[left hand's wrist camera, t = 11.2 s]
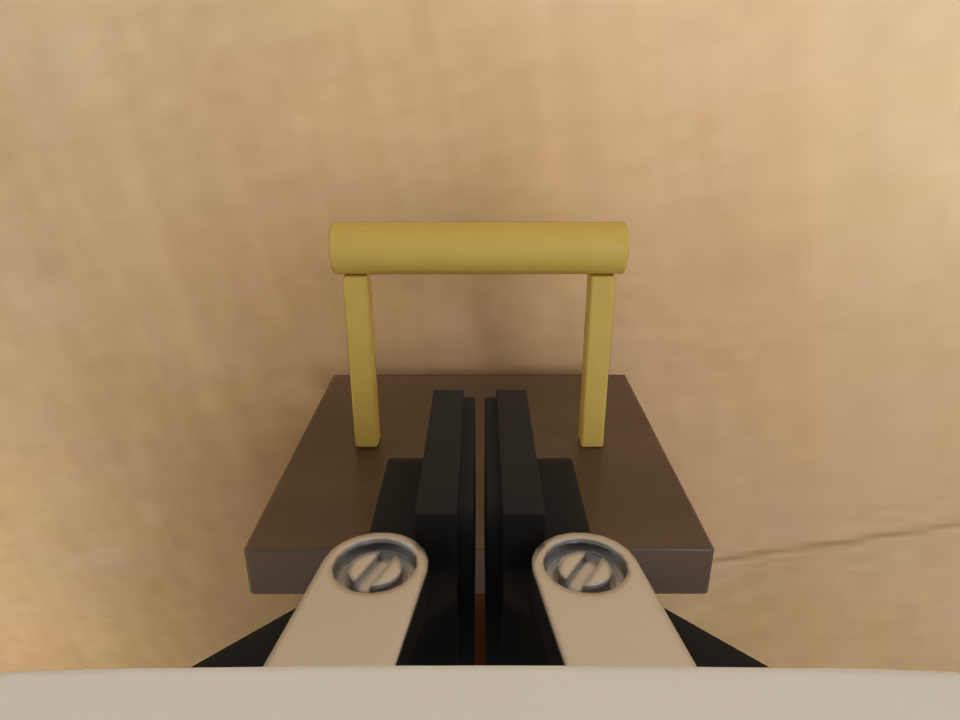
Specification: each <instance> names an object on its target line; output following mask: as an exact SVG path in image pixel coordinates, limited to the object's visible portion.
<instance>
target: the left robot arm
mask: <svg viewBox="0 0 960 720" xmlns="http://www.w3.org/2000/svg"><path fill="white" fill-rule="evenodd" d="M475 550H476V476H475V397H464V390H463V389H434V392H433V399H432V405H431V412H430V418H429V425H428V431H427V438H426V444H425V450H424V457H423V458H389V459H388V462H387V465H386V469H385V473H384V477H383V481H382V485H381V489H380V493H379V497H378V501H377V505H376V509H375V513H374V517H373V521H372V525H371V529H370V533H369V534H365V535H360V536H356V537H354V538H351V539H349V540H346V541H344V542H342V543H341V544H340V545H338V546H337V547H335V548H334V549H332V550H331V552H330V553H329V554H328V555H327V556H326V558H325V559H324V560H323V562H322V564H321V566H320V567H319V569H318V571H317V573H316V574H315V576H314V578H313V580H312V581H311V583H310V585H309V587H308V588H307V590H306V592H305V594H304V595H303V597H302V599H301V601H300V602H299V604H298V606H297V608H295V609H294V610H292V611H290V612H288V613H287V614H285V615H283V616H281V617H279V618H278V619H276V620H274V621H272V622H271V623H269V624H267V625H265V626H264V627H262V628H260V629H258V630H256V631H255V632H253V633H251V634H249V635H248V636H246V637H244V638H242V639H240V640H239V641H237V642H235V643H233V644H232V645H230V646H228V647H226V648H225V649H223V650H221V651H219V652H217V653H216V654H214V655H212V656H210V657H209V658H207V659H205V660H203V661H201V662H200V663H198V664H196V665H194V666H193V667H191V668H96V669H69V670H42V671H14V672H0V720H960V672H946V671H918V670H891V669H864V668H769V667H767V666H766V665H764V664H762V663H760V662H759V661H757V660H755V659H753V658H751V657H750V656H748V655H746V654H744V653H743V652H741V651H739V650H737V649H735V648H734V647H732V646H730V645H728V644H727V643H725V642H723V641H721V640H720V639H718V638H716V637H714V636H712V635H711V634H709V633H707V632H705V631H704V630H702V629H700V628H698V627H696V626H695V625H693V624H691V623H689V622H688V621H686V620H684V619H682V618H681V617H679V616H677V615H675V614H673V613H672V612H670V611H668V610H666V609H665V608H663V606H662V604H661V602H660V601H659V599H658V597H657V595H656V594H655V592H654V590H653V588H652V587H651V585H650V583H649V581H648V580H647V578H646V576H645V574H644V573H643V571H642V569H641V567H640V566H639V564H638V562H637V560H636V559H635V558H634V556H633V555H632V554H631V553H630V552H629V550H628V549H626V548H625V547H623V546H622V545H620V544H619V543H618V542H616V541H614V540H611V539H609V538H606V537H604V536H600V535H595V534H591V533H590V529H589V525H588V521H587V517H586V513H585V509H584V505H583V501H582V497H581V493H580V489H579V485H578V481H577V477H576V473H575V469H574V465H573V462H572V459H571V458H537V457H536V450H535V444H534V438H533V431H532V425H531V418H530V412H529V405H528V399H527V392H526V389H497V390H496V397H485V476H484V551H485V652H486V666H474V652H475Z"/></svg>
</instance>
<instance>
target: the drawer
mask: <svg viewBox="0 0 960 720" xmlns="http://www.w3.org/2000/svg"><path fill="white" fill-rule="evenodd" d="M628 255H629V234H628V229H627V225H626V223H624V222H334V223H332V225H331V228H330V233H329V257H330V263H331V267H332V270H333V272H334V273H335V274H345V275H344V277H343V290H344V303H345V316H346V329H347V342H348V355H349V368H350V375H335V376H334V377H333V378H332V380H331V382H330V384H329V386H328V388H327V390H326V392H325V394H324V396H323V398H322V400H321V402H320V404H319V406H318V407H317V409H316V411H315V413H314V415H313V417H312V419H311V421H310V423H309V425H308V427H307V429H306V431H305V433H304V435H303V437H302V438H301V440H300V442H299V444H298V446H297V448H296V450H295V452H294V454H293V456H292V458H291V460H290V462H289V464H288V466H287V467H286V469H285V471H284V473H283V475H282V477H281V479H280V481H279V483H278V485H277V487H276V489H275V491H274V493H273V495H272V496H271V498H270V500H269V502H268V504H267V506H266V508H265V510H264V512H263V514H262V516H261V518H260V520H259V522H258V524H257V526H256V527H255V529H254V531H253V533H252V535H251V537H250V539H249V541H248V543H247V545H246V547H245V549H244V551H245V558H246V564H247V571H248V577H249V584H250V590H251V593H253V594H305V592H306V590H307V588H308V587H309V585H310V583H311V581H312V580H313V578H314V576H315V574H316V573H317V571H318V569H319V567H320V566H321V564H322V562H323V560H324V559H325V558H326V556H327V555H328V554H329V553H330V552H331V550H332V549H334V548H335V547H337V546H338V545H340V544H341V543H342V542H344V541H346V540H349V539H351V538H354V537H356V536H360V535H365V534H369V533H370V529H371V525H372V521H373V517H374V513H375V509H376V505H377V501H378V497H379V493H380V489H381V485H382V481H383V477H384V473H385V469H386V465H387V462H388V459H389V458H423V457H424V450H425V444H426V438H427V431H428V425H429V418H430V412H431V405H432V399H433V392H434V389H463V390H464V397H475V476H476V550H475V652H474V666H486V652H485V551H484V476H485V397H496V390H497V389H526V392H527V399H528V405H529V412H530V418H531V425H532V431H533V438H534V444H535V450H536V457H537V458H571V459H572V462H573V465H574V469H575V473H576V477H577V481H578V485H579V489H580V493H581V497H582V501H583V505H584V509H585V513H586V517H587V521H588V525H589V529H590V533H591V534H595V535H600V536H604V537H606V538H609V539H611V540H614V541H616V542H618V543H619V544H620V545H622V546H623V547H625V548H626V549H628V550H629V552H630V553H631V554H632V555H633V556H634V558H635V559H636V560H637V562H638V564H639V566H640V567H641V569H642V571H643V573H644V574H645V576H646V578H647V580H648V581H649V583H650V585H651V587H652V588H653V590H654V592H655V594H705V593H707V591H708V585H709V579H710V572H711V565H712V559H713V552H714V548H713V546H712V544H711V542H710V540H709V538H708V536H707V534H706V532H705V530H704V528H703V527H702V525H701V523H700V521H699V519H698V517H697V515H696V513H695V511H694V509H693V507H692V505H691V503H690V501H689V499H688V497H687V495H686V493H685V491H684V489H683V488H682V486H681V484H680V482H679V480H678V478H677V476H676V474H675V472H674V470H673V468H672V466H671V464H670V462H669V460H668V458H667V456H666V454H665V452H664V451H663V449H662V447H661V445H660V443H659V441H658V439H657V437H656V435H655V433H654V431H653V429H652V427H651V425H650V423H649V421H648V419H647V417H646V415H645V413H644V412H643V410H642V408H641V406H640V404H639V402H638V400H637V398H636V396H635V394H634V392H633V390H632V388H631V386H630V384H629V382H628V380H627V378H626V376H625V375H608V371H609V358H610V344H611V331H612V317H613V303H614V290H615V276H614V275H613V274H622V273H624V272H625V269H626V266H627V262H628ZM370 274H588V278H587V295H586V312H585V330H584V347H583V364H582V375H376V360H375V343H374V327H373V311H372V295H371V278H370Z"/></svg>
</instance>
